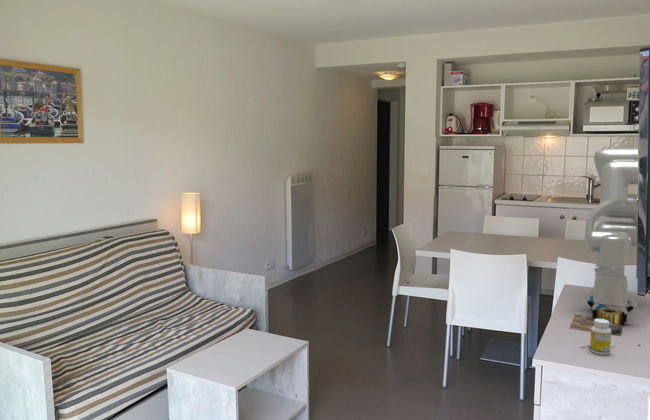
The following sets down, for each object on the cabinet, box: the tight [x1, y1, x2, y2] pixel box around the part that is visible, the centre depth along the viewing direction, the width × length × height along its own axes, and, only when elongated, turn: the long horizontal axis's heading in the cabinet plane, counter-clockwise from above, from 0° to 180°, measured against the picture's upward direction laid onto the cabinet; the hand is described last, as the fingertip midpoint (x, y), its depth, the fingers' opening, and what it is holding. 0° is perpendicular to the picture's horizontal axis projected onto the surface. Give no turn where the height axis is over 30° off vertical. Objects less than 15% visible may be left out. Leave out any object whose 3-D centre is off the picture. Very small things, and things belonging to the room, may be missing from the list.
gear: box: [589, 296, 610, 311], centre depth 194 cm, size 11×6×10 cm
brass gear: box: [597, 307, 623, 326], centre depth 181 cm, size 7×7×4 cm
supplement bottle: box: [589, 319, 612, 356], centre depth 158 cm, size 5×5×10 cm
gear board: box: [568, 313, 623, 337], centre depth 179 cm, size 17×15×5 cm
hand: (609, 321), depth 181 cm, fingers open, 7 cm apart
